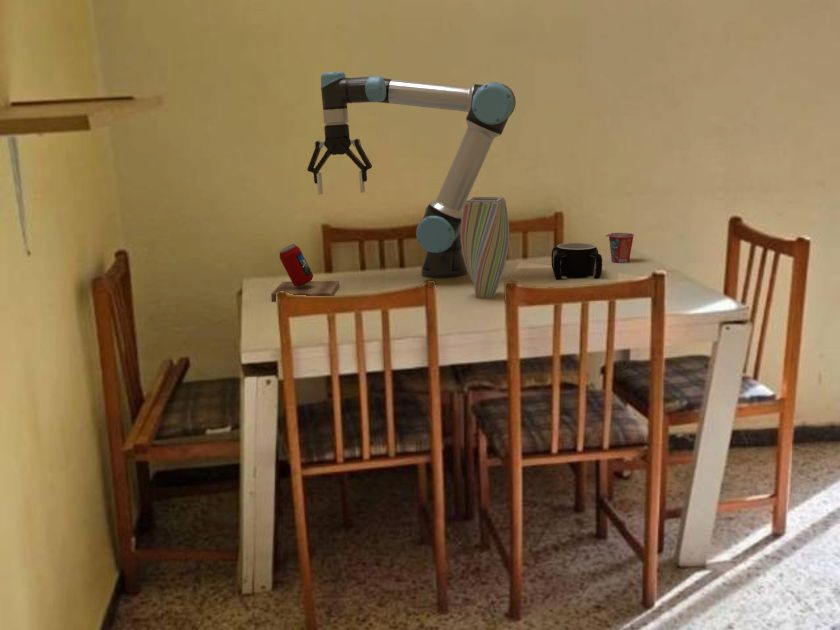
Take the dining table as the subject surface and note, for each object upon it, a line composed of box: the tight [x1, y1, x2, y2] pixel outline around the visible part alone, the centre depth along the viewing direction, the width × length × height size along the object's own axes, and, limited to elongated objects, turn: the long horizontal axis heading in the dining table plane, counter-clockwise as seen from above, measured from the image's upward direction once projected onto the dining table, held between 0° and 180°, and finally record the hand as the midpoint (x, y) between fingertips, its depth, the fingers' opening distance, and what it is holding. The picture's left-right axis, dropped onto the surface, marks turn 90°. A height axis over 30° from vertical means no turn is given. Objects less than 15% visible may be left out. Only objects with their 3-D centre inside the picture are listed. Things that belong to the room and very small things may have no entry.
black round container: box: [550, 242, 603, 281], centre depth 279 cm, size 16×16×12 cm
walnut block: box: [270, 280, 340, 303], centre depth 274 cm, size 18×18×3 cm
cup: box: [605, 232, 635, 264], centre depth 298 cm, size 9×8×12 cm
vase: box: [460, 196, 510, 299], centre depth 254 cm, size 14×14×30 cm
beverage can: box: [278, 243, 314, 287], centre depth 272 cm, size 7×7×12 cm
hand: (341, 193), depth 280 cm, fingers open, 13 cm apart
